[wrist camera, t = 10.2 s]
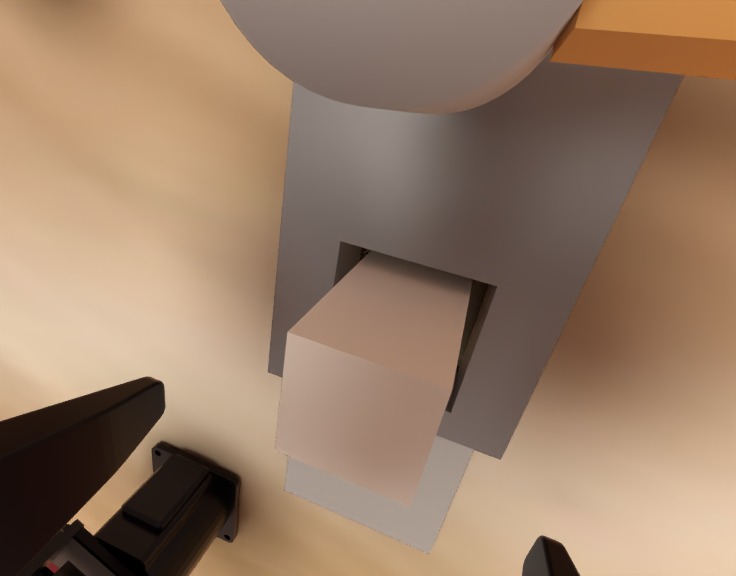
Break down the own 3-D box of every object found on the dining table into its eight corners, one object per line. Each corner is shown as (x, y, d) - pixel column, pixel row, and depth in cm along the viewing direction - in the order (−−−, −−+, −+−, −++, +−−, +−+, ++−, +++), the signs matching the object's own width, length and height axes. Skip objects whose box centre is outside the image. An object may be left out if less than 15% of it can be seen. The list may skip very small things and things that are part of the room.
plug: (447, 350, 17) (410, 507, 10) (363, 322, 18) (274, 450, 11) (475, 268, 16) (452, 389, 8) (379, 241, 16) (287, 332, 9)
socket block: (500, 409, 17) (500, 601, 10) (299, 338, 19) (185, 460, 12) (677, 9, 11) (991, -194, 4) (347, -36, 13) (163, -224, 6)
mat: (431, 543, 22) (429, 554, 22) (288, 482, 24) (284, 490, 23) (479, 429, 18) (478, 438, 18) (305, 365, 20) (299, 372, 19)
